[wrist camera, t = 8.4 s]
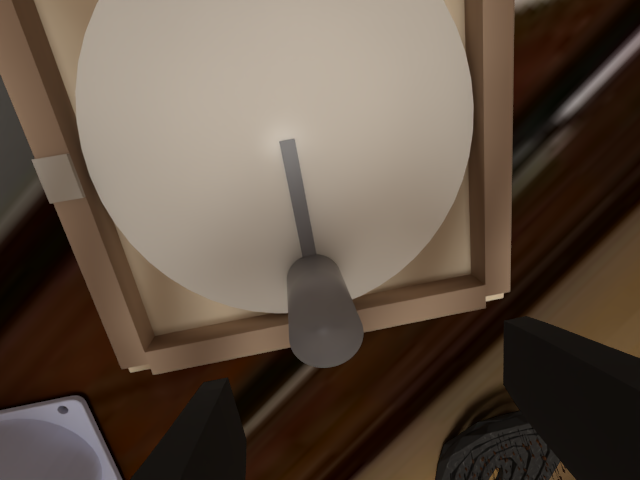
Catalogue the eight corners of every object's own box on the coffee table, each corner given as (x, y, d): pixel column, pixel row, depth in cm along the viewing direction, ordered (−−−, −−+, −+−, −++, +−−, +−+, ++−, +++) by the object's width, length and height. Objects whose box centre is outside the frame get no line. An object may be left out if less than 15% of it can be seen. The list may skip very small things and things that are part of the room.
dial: (20, -51, 12) (-183, -191, 7) (452, -116, 12) (573, -289, 7) (161, 331, 16) (106, 423, 11) (467, 268, 17) (547, 327, 12)
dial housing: (141, 353, 18) (116, 395, 16) (-28, -92, 12) (-122, -159, 10) (487, 285, 19) (523, 312, 16) (483, -158, 13) (538, -236, 11)
